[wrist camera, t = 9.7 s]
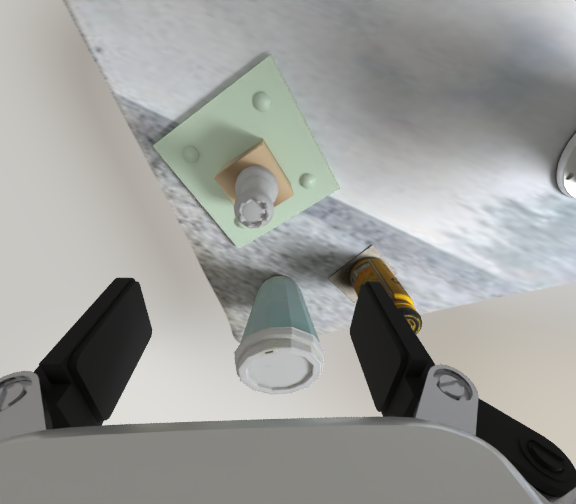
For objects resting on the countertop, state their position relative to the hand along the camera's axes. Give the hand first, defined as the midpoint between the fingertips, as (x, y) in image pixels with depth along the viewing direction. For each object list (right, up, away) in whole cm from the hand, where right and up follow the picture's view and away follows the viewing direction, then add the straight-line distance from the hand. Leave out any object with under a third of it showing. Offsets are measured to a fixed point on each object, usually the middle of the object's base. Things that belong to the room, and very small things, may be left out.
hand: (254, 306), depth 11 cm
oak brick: (-2, +12, +20) cm, 23 cm away
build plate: (-3, +13, +20) cm, 24 cm away
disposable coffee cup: (0, -4, +30) cm, 31 cm away
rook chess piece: (-2, +9, +16) cm, 19 cm away
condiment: (+13, -1, +30) cm, 33 cm away
